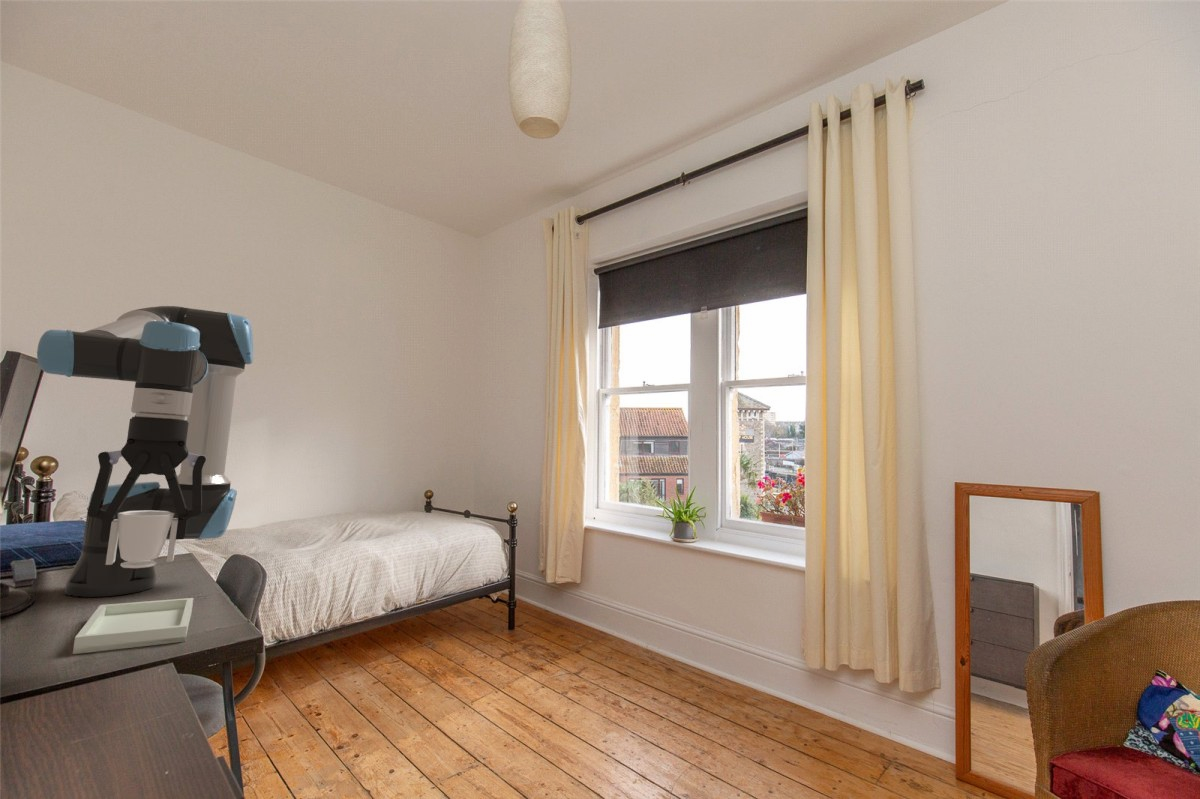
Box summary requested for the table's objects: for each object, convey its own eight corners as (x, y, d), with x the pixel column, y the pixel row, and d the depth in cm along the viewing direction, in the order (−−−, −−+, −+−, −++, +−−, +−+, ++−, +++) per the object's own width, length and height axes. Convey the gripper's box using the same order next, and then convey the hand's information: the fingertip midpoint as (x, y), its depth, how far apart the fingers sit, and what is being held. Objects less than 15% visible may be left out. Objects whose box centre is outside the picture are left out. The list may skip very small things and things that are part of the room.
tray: (98, 618, 101) (100, 605, 102) (191, 610, 109) (193, 597, 109) (72, 654, 85) (75, 637, 85) (185, 641, 93) (187, 626, 93)
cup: (103, 571, 81) (112, 515, 82) (118, 557, 89) (126, 507, 90) (163, 569, 85) (171, 516, 85) (172, 556, 93) (179, 508, 94)
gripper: (73, 410, 81) (49, 570, 78) (232, 421, 91) (215, 562, 89) (84, 412, 87) (62, 560, 85) (232, 422, 98) (216, 553, 96)
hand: (140, 561), depth 87 cm, fingers closed on cup, 7 cm apart
